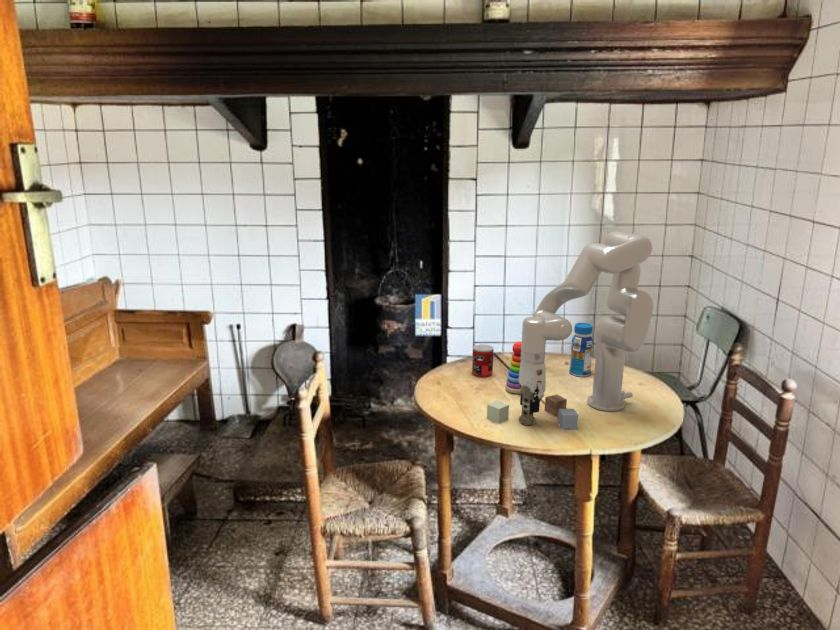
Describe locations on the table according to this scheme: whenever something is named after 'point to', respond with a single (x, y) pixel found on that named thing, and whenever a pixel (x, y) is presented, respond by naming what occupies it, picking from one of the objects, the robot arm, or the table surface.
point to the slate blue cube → (567, 418)
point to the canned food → (482, 360)
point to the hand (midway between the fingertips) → (529, 407)
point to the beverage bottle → (581, 350)
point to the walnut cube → (554, 404)
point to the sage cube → (497, 411)
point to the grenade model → (526, 407)
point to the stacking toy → (514, 370)
